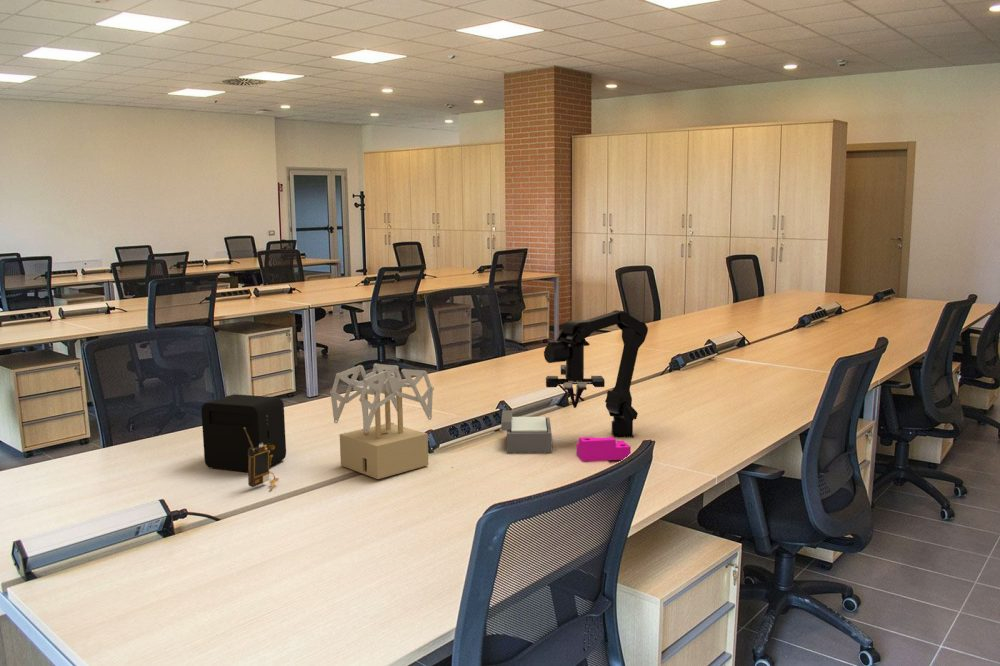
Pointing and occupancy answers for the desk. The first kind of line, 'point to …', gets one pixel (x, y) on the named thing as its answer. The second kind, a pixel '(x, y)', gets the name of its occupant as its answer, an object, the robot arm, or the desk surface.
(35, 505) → the desk surface
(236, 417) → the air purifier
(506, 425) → the trapdoor
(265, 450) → the walkie talkie
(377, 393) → the kinetic sculpture
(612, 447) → the magenta saddle bracket
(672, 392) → the desk surface
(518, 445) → the hatch box
